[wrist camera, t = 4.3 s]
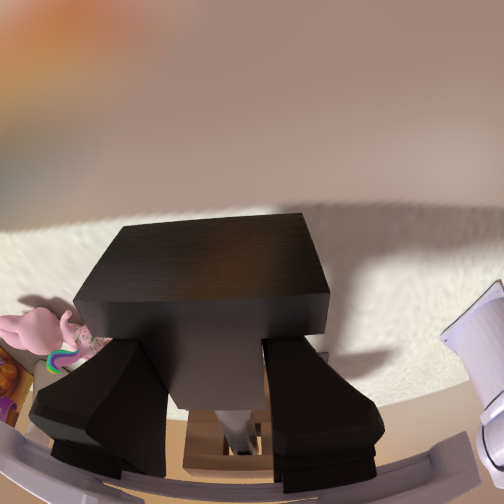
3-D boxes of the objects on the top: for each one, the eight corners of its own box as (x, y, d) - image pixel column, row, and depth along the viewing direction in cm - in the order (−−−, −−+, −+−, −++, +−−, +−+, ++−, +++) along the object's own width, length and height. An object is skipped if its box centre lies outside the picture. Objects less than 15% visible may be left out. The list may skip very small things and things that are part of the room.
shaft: (289, 421, 20) (293, 470, 16) (203, 423, 20) (199, 471, 17) (301, 212, 11) (330, 292, 7) (123, 226, 11) (72, 301, 7)
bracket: (290, 381, 24) (300, 475, 16) (201, 384, 24) (192, 476, 16) (292, 363, 22) (303, 467, 14) (195, 366, 22) (182, 467, 15)
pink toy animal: (128, 292, 20) (-12, 286, 17) (116, 355, 15) (-39, 332, 12) (140, 344, 24) (12, 333, 21) (136, 401, 19) (-6, 378, 16)
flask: (64, 393, 29) (44, 454, 20) (27, 359, 25) (-2, 423, 17) (97, 393, 27) (77, 464, 19) (56, 356, 24) (24, 432, 15)
